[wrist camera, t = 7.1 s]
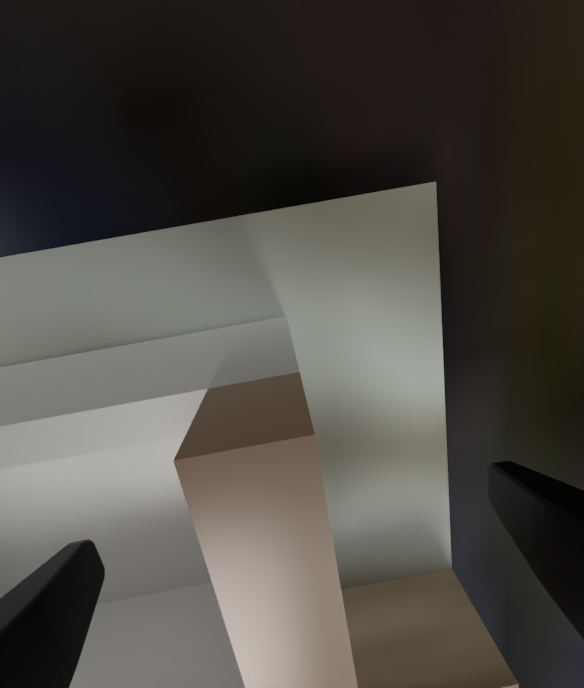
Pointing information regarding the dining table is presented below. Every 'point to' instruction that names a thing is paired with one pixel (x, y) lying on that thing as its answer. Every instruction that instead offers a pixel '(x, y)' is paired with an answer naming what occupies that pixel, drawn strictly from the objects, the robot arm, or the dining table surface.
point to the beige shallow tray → (309, 388)
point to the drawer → (180, 509)
